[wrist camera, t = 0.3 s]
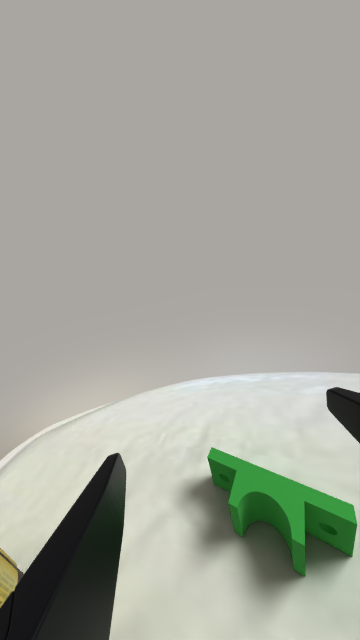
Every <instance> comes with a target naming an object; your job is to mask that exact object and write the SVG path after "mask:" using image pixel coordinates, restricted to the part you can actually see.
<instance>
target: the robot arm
mask: <svg viewBox="0 0 360 640" xmlns="http://www.w3.org/2000/svg"><path fill="white" fill-rule="evenodd" d="M326 396H327V407H328V409H329V411H330V412H331V413H332V414H333V415H334V416H335V417H336V418H337V420H338V421H339V422H340V423H341V424H342V425H343V426H344V427H345V428H346V429H347V430H348V431H349V432H350V433H351V435H352V436H353V437H354V438H355V439H356V440H357V441H358V442H359V443H360V393H357V392H354V391H350V390H346V389H342V388H338V387H335V388H331V389H328V390H327V392H326ZM125 492H126V468H125V465H124V463H123V460H122V458H121V455H120V454H119V453H115V454H112V455H109V456H108V457H107V458H106V460H105V461H104V462H103V464H102V465H101V467H100V468H99V469H98V471H97V472H96V474H95V475H94V476H93V478H92V479H91V481H90V482H89V484H88V485H87V486H86V488H85V489H84V491H83V492H82V493H81V495H80V496H79V498H78V499H77V500H76V502H75V503H74V505H73V506H72V507H71V509H70V510H69V512H68V513H67V515H66V516H65V517H64V519H63V520H62V522H61V523H60V524H59V526H58V527H57V529H56V530H55V531H54V533H53V534H52V536H51V537H50V538H49V540H48V541H47V543H46V544H45V546H44V547H43V548H42V550H41V551H40V553H39V554H38V555H37V557H36V558H35V560H34V561H33V562H32V564H31V565H30V567H29V568H28V569H27V571H26V572H25V574H24V575H23V577H22V578H21V579H20V581H19V582H18V584H17V585H16V587H15V590H14V591H12V592H11V593H10V595H9V596H8V598H7V599H6V600H5V602H4V603H3V605H2V606H1V607H0V640H109V635H110V628H111V620H112V613H113V605H114V597H115V590H116V582H117V574H118V567H119V559H120V552H121V544H122V536H123V528H124V512H125Z"/></svg>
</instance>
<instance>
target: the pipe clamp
mask: <svg viewBox="0 0 360 640" xmlns="http://www.w3.org/2000/svg"><path fill="white" fill-rule="evenodd" d="M208 461H209V465H210V469H211V473H212V477H213V481H214V484H215V485H217V486H219V487H221V488H223V489H224V490H226V491H228V492H230V493H231V494H230V498H229V502H228V504H229V508H230V513H231V517H232V522H233V526H234V530H235V532H236V533H237V534H239V535H241V536H242V537H244V533H245V531H246V529H247V527H248V526H249V525H250V524H251V523H253V522H255V521H264V522H267V523H269V524H271V525H272V526H274V527H275V528H276V529H277V530H278V531H279V532H280V533H281V535H282V536H283V537H284V539H285V541H286V542H287V544H288V546H289V549H290V552H291V555H292V560H293V569H294V570H295V571H297V572H298V573H300V574H302V575H303V576H305V532H306V533H308V534H310V535H312V536H314V537H316V538H318V539H319V540H321V541H323V542H325V543H327V544H329V545H331V546H333V547H335V548H337V549H338V550H340V551H342V552H344V553H346V554H348V555H350V556H352V554H353V548H354V541H355V535H356V528H357V521H356V516H355V511H354V506H353V505H351V504H349V503H347V502H344V501H342V500H339V499H337V498H334V497H332V496H329V495H327V494H325V493H322V492H320V491H317V490H315V489H312V488H310V487H307V486H305V485H303V484H300V483H298V482H295V481H293V480H290V479H288V478H285V477H283V476H281V475H278V474H276V473H273V472H271V471H268V470H266V469H264V468H261V467H259V466H256V465H254V464H251V463H249V462H246V461H244V460H242V459H239V458H237V457H234V456H232V455H229V454H227V453H224V452H222V451H220V450H217V449H215V448H211V450H210V452H209V455H208Z"/></svg>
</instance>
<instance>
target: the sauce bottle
mask: <svg viewBox="0 0 360 640" xmlns="http://www.w3.org/2000/svg"><path fill="white" fill-rule="evenodd" d="M23 575H24V574H23V572H21V571H20V570H19V569H18V568H17V565H16V563H15V562H14V561H13V560H12V559H11V558H10V557H9V556H8V555H7V554H6V553H5V552H4V551H3V550H2V549H1V548H0V607H1V606H2V605H3V603H4V602H5V600H6V599H7V598H8V596H9V595H10V593H11V592H12V591H14V590H15V587H16V585H17V584H18V582H19V581H20V579H21V578H22V577H23Z"/></svg>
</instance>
